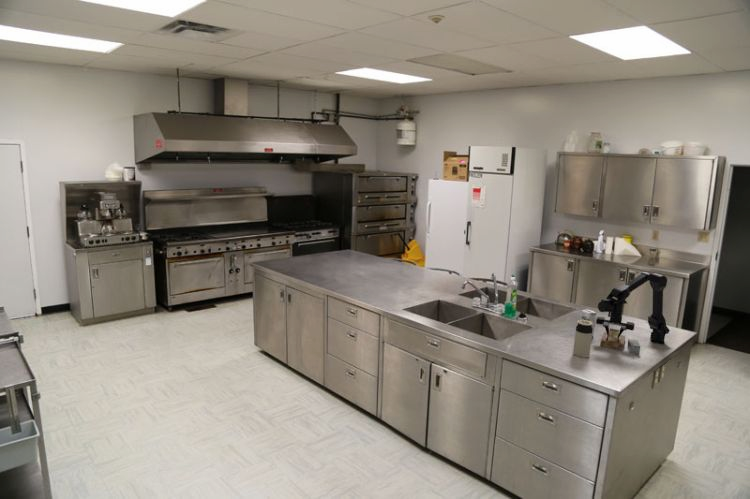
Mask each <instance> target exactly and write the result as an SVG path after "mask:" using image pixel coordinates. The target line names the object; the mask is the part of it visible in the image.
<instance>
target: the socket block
mask: <svg viewBox="0 0 750 499" xmlns="http://www.w3.org/2000/svg"><path fill="white" fill-rule="evenodd" d="M602 334H603V335H602V337H601V340H600V344H599V346H600V347H601V348H607V349H612V350H617V351H621V352H622V351H623V350H624V345H625V342H626V335H624V334H621V335H620V337H619V339H618V341H617V342H612V341H608V336H607V332H606V331H603V333H602ZM618 335H619V334H618Z"/></svg>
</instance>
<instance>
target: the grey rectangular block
mask: <svg viewBox="0 0 750 499" xmlns="http://www.w3.org/2000/svg"><path fill="white" fill-rule="evenodd" d="M627 340H628V341H627V346H626V348H627V351H628V353H629V354H630V355H638V356H640V352H641V344H640V343H639V341H638V339H629V338H628V339H627Z"/></svg>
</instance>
